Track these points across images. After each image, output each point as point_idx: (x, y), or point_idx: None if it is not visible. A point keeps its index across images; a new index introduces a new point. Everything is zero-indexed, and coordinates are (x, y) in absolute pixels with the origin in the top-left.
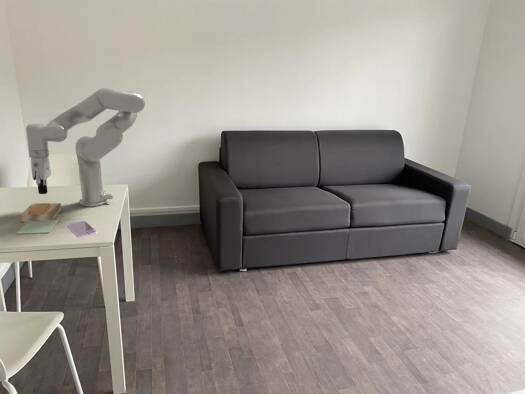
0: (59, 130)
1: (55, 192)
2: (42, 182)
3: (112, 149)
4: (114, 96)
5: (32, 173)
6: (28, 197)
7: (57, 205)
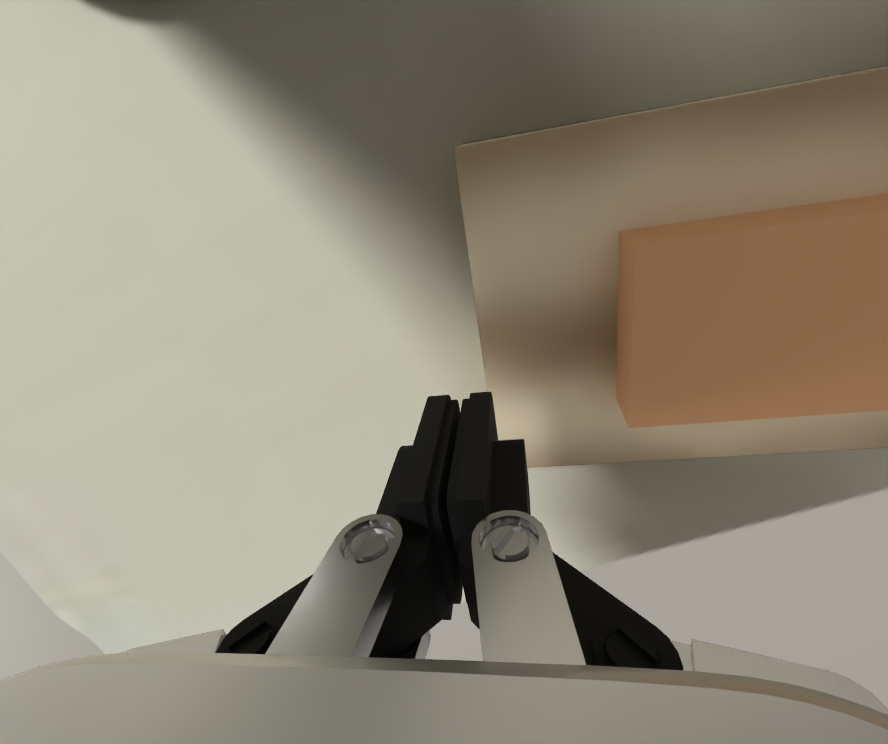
0: None
1: (32, 424)
2: (566, 625)
3: None
4: None
5: None
6: (222, 550)
7: (558, 152)
